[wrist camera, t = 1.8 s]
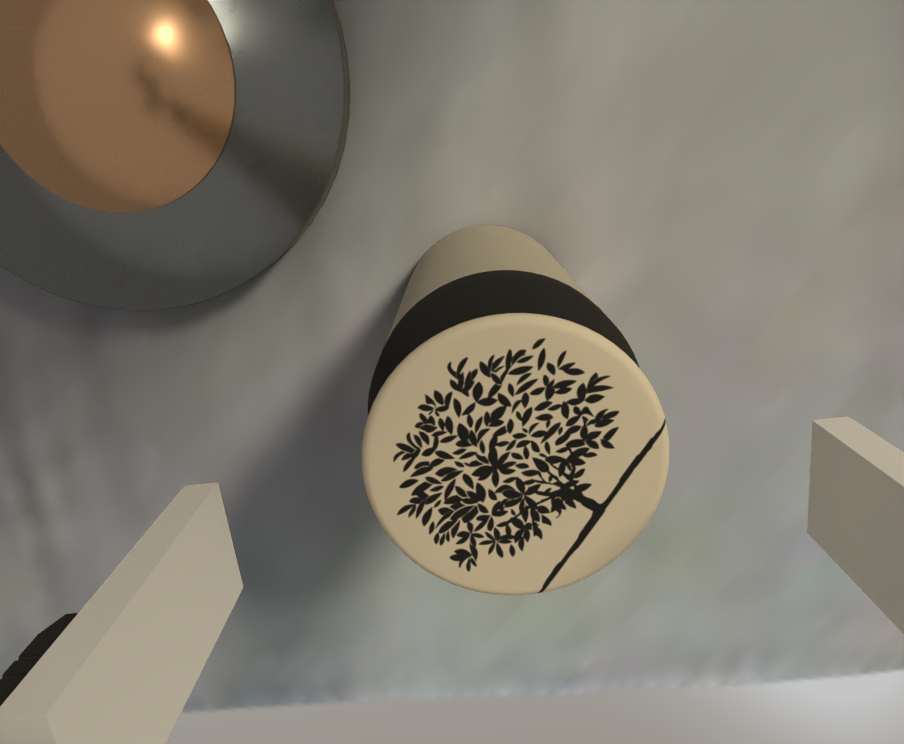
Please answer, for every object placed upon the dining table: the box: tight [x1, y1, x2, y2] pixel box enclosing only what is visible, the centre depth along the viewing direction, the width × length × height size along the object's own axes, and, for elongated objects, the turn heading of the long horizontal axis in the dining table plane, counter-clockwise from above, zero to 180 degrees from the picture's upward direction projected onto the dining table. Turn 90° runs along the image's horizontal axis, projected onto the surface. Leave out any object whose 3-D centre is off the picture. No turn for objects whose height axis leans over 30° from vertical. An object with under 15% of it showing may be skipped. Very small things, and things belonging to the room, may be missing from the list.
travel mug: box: [362, 225, 669, 595], centre depth 25 cm, size 8×8×18 cm
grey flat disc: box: [0, 0, 350, 311], centre depth 29 cm, size 20×20×2 cm
